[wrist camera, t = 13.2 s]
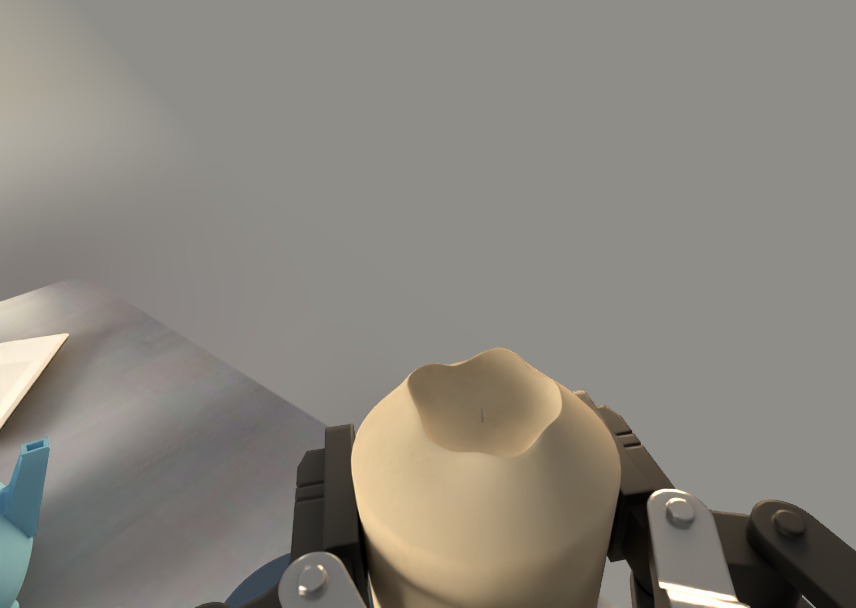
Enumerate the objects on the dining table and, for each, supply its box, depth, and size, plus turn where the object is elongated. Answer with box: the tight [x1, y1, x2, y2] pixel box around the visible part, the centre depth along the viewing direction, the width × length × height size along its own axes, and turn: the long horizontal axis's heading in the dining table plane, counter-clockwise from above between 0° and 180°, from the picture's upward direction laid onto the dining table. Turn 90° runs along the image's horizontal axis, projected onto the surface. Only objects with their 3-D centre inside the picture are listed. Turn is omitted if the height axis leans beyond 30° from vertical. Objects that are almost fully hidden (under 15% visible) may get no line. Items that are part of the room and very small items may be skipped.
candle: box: [351, 348, 621, 608], centre depth 12 cm, size 6×6×10 cm
